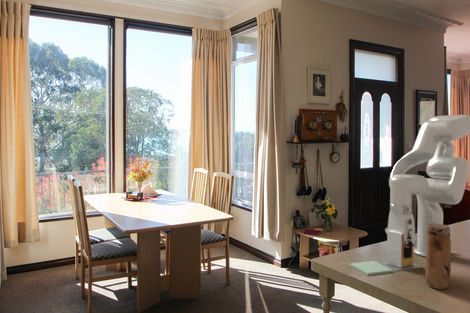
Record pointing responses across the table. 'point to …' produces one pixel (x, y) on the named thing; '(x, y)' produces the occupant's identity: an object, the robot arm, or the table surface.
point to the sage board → (371, 268)
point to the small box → (397, 250)
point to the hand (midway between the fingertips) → (400, 254)
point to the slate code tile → (412, 266)
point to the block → (438, 256)
